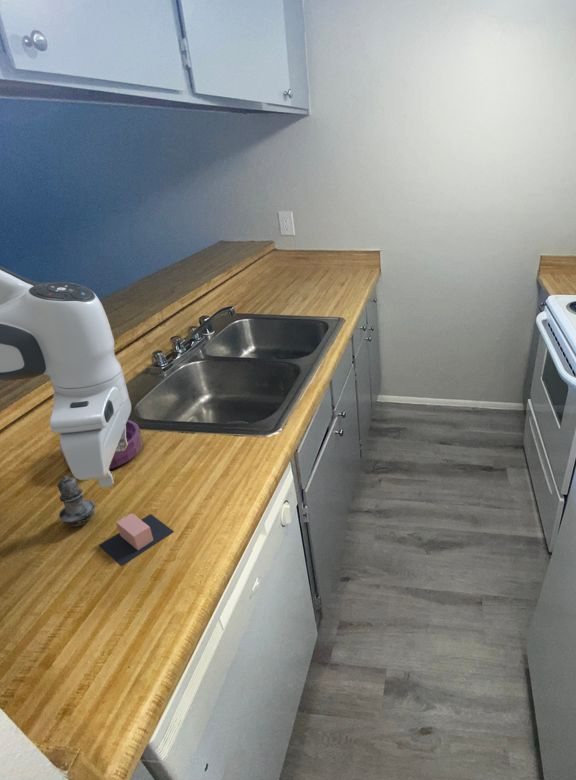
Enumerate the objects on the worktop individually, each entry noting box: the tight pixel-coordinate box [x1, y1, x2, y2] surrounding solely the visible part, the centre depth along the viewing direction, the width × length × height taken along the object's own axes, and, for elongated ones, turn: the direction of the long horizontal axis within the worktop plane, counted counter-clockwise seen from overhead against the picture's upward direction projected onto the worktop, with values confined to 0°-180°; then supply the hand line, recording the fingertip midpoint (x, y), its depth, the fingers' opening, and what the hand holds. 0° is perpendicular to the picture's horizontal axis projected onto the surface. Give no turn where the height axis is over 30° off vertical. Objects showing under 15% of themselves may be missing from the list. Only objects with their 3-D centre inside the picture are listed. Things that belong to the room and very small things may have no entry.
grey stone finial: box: [57, 474, 96, 527], centre depth 88 cm, size 6×6×12 cm
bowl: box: [59, 419, 144, 470], centre depth 109 cm, size 16×16×5 cm
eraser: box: [116, 512, 153, 550], centre depth 87 cm, size 6×3×4 cm, turn 56°
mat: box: [98, 513, 175, 567], centre depth 88 cm, size 10×8×1 cm
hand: (115, 465), depth 77 cm, fingers open, 8 cm apart
